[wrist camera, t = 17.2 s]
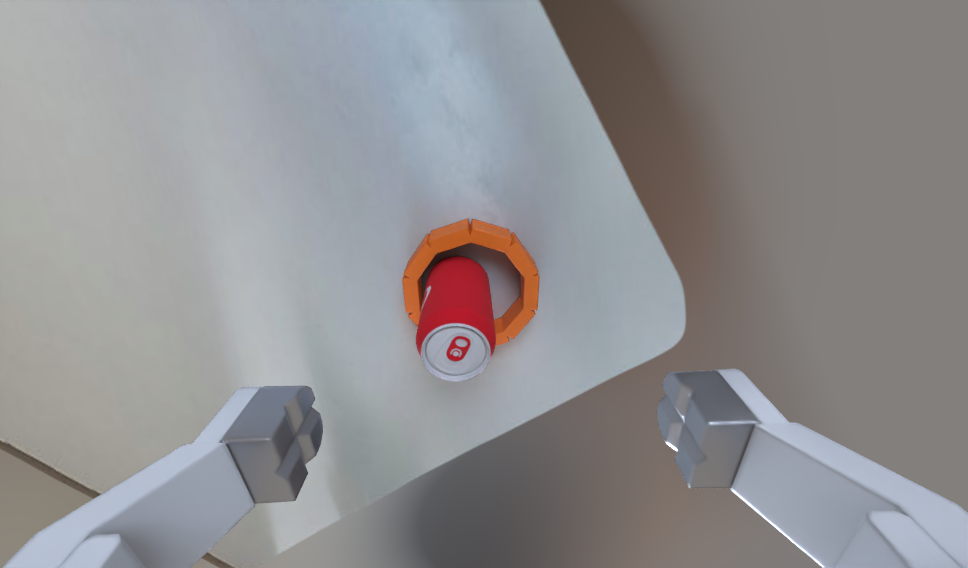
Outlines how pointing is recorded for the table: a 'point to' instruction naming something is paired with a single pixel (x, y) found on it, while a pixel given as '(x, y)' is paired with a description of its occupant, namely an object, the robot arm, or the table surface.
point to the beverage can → (456, 320)
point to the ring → (488, 238)
